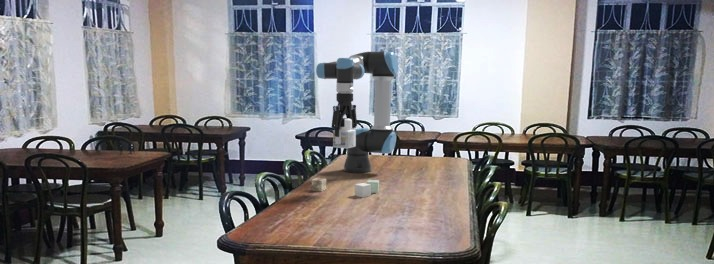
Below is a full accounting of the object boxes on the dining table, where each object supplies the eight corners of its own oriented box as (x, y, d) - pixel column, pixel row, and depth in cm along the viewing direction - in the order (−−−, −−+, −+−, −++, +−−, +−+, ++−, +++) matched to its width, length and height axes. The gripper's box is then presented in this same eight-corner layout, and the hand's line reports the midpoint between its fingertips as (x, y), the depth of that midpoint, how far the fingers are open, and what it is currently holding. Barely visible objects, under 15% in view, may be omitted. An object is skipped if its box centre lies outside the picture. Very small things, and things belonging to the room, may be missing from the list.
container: (332, 147, 235) (332, 118, 234) (341, 145, 242) (341, 117, 241) (347, 148, 232) (348, 119, 230) (355, 146, 239) (356, 118, 237)
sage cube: (366, 192, 234) (366, 181, 234) (368, 190, 239) (368, 179, 239) (377, 193, 234) (378, 182, 233) (378, 190, 239) (379, 180, 238)
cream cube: (354, 195, 229) (354, 184, 228) (363, 193, 232) (363, 182, 232) (362, 197, 225) (362, 186, 225) (370, 196, 229) (371, 184, 228)
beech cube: (311, 190, 238) (311, 179, 237) (316, 188, 242) (316, 177, 242) (321, 191, 236) (321, 180, 235) (326, 189, 240) (326, 178, 240)
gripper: (336, 93, 224) (335, 146, 226) (365, 92, 240) (364, 141, 243) (323, 93, 228) (322, 144, 231) (352, 91, 245) (352, 140, 247)
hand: (344, 142), depth 237 cm, fingers closed on container, 8 cm apart
